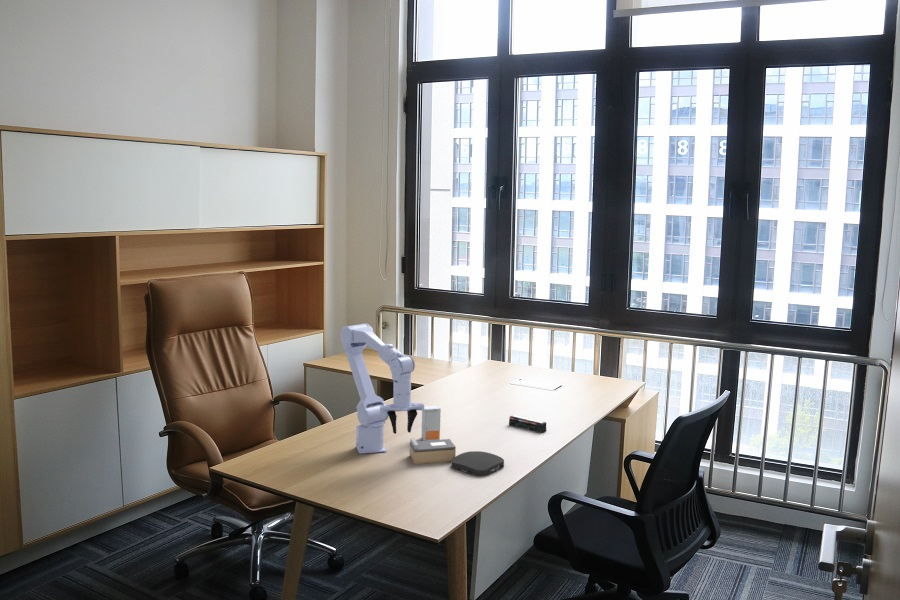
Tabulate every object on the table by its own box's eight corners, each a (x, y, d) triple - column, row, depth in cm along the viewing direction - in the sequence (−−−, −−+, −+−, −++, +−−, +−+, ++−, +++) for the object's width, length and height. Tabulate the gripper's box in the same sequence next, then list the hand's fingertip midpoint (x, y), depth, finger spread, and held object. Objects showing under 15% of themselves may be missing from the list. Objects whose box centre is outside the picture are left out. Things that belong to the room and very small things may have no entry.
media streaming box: (473, 455, 264) (473, 447, 264) (508, 466, 255) (508, 457, 255) (446, 467, 253) (446, 459, 253) (482, 479, 244) (482, 470, 244)
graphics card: (542, 439, 283) (542, 428, 282) (486, 425, 298) (486, 415, 297) (562, 430, 294) (562, 419, 294) (507, 417, 309) (507, 406, 309)
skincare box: (424, 441, 277) (424, 409, 275) (421, 437, 281) (421, 406, 279) (440, 440, 278) (440, 408, 277) (437, 436, 282) (437, 404, 281)
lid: (414, 451, 254) (414, 445, 254) (409, 443, 262) (409, 437, 262) (455, 448, 258) (455, 442, 257) (449, 440, 265) (449, 435, 265)
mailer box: (414, 464, 255) (414, 452, 254) (409, 455, 262) (409, 444, 262) (455, 460, 258) (455, 449, 258) (449, 452, 266) (449, 441, 265)
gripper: (382, 397, 248) (382, 437, 251) (426, 394, 252) (425, 434, 254) (378, 391, 255) (378, 430, 257) (421, 388, 259) (421, 427, 261)
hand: (401, 432), depth 256 cm, fingers open, 4 cm apart
